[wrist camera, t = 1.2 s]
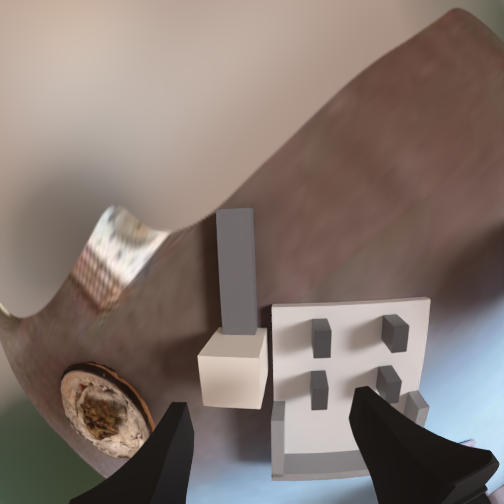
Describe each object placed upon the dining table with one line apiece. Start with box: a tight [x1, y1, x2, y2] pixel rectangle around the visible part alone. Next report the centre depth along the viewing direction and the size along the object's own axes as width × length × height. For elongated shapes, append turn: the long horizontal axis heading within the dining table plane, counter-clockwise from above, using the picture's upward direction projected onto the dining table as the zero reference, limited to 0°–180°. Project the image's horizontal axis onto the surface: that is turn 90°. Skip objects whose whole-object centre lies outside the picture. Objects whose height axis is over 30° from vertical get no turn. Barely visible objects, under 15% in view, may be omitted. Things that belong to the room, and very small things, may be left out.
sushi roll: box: [60, 362, 156, 459], centre depth 26 cm, size 15×15×4 cm
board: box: [271, 297, 430, 481], centre depth 22 cm, size 16×13×4 cm
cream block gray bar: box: [198, 208, 268, 409], centre depth 21 cm, size 14×4×6 cm, turn 2°
